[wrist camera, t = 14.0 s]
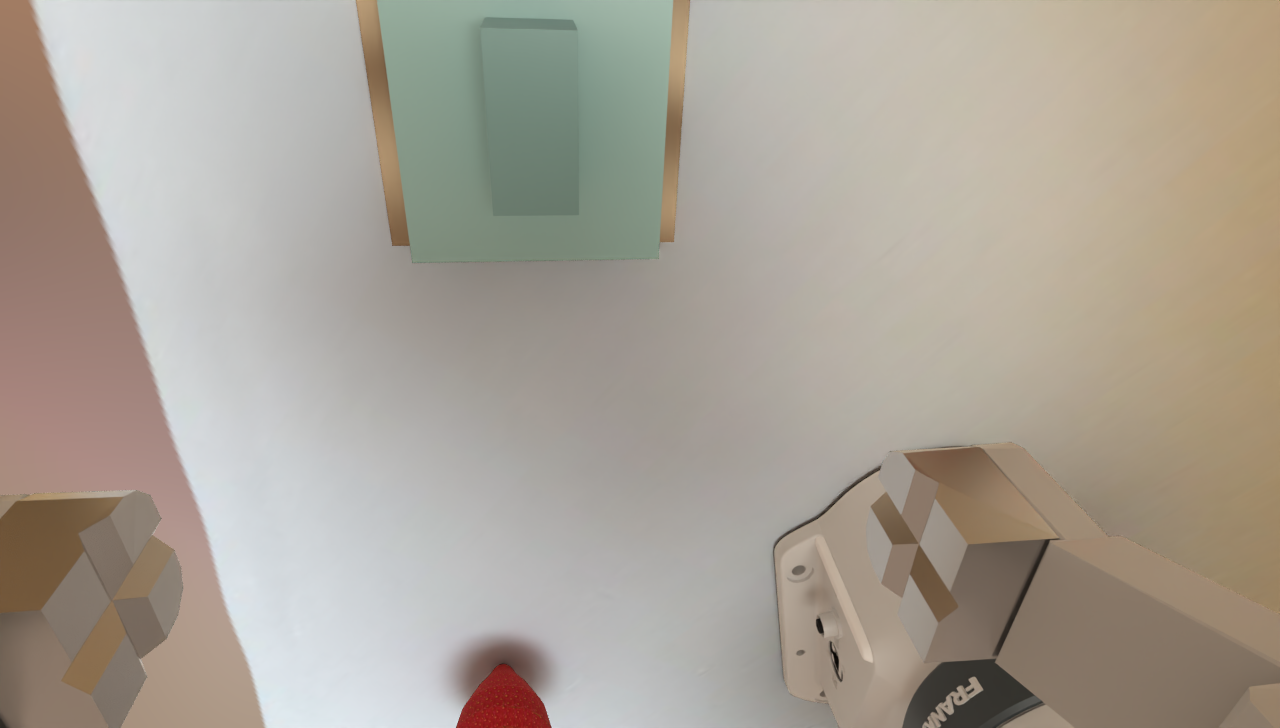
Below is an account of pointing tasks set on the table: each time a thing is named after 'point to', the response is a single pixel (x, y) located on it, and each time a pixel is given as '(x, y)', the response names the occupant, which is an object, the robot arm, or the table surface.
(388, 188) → the cork mat
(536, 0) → the lid
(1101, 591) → the robot arm
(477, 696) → the strawberry
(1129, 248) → the table surface
